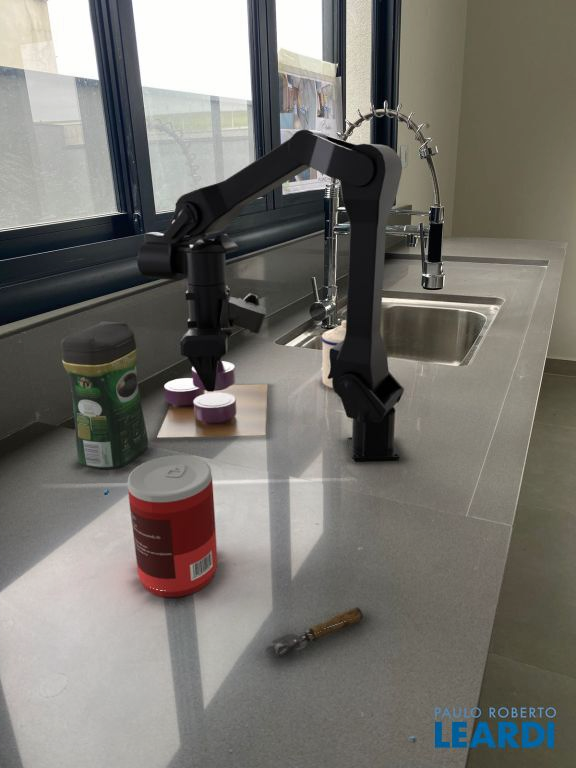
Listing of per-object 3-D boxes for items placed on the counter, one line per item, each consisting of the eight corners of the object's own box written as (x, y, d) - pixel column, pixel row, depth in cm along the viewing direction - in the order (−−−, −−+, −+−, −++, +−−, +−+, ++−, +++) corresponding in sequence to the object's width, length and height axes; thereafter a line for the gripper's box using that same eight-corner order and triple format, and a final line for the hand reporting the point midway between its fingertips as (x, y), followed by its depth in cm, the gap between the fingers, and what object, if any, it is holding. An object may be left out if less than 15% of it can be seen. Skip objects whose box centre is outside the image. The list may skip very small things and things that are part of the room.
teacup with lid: (359, 395, 104) (361, 329, 100) (312, 387, 109) (312, 324, 105) (383, 374, 114) (386, 314, 110) (339, 368, 118) (340, 309, 114)
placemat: (265, 437, 89) (265, 435, 89) (156, 440, 89) (156, 437, 88) (267, 386, 109) (267, 384, 109) (179, 388, 109) (179, 385, 109)
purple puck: (236, 391, 91) (235, 372, 90) (192, 394, 90) (190, 375, 89) (235, 377, 97) (234, 359, 96) (193, 379, 96) (192, 361, 95)
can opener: (356, 614, 53) (357, 603, 53) (370, 631, 51) (370, 620, 51) (261, 646, 50) (261, 635, 50) (272, 666, 48) (271, 655, 48)
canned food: (220, 547, 63) (214, 453, 60) (214, 598, 56) (207, 494, 52) (147, 549, 63) (136, 455, 59) (131, 601, 56) (118, 497, 52)
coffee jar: (110, 438, 89) (94, 315, 83) (156, 445, 87) (144, 319, 81) (67, 468, 81) (46, 333, 74) (118, 476, 78) (100, 338, 72)
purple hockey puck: (202, 408, 99) (201, 390, 98) (162, 409, 99) (160, 391, 98) (207, 393, 105) (206, 377, 104) (169, 394, 105) (167, 378, 104)
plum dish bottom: (235, 425, 92) (234, 407, 91) (192, 426, 92) (190, 408, 91) (237, 409, 98) (236, 391, 97) (197, 410, 98) (195, 392, 97)
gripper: (260, 294, 79) (264, 404, 84) (263, 271, 97) (266, 363, 102) (175, 296, 79) (184, 406, 84) (193, 272, 97) (200, 365, 102)
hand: (213, 383), depth 93 cm, fingers closed on purple puck, 6 cm apart
